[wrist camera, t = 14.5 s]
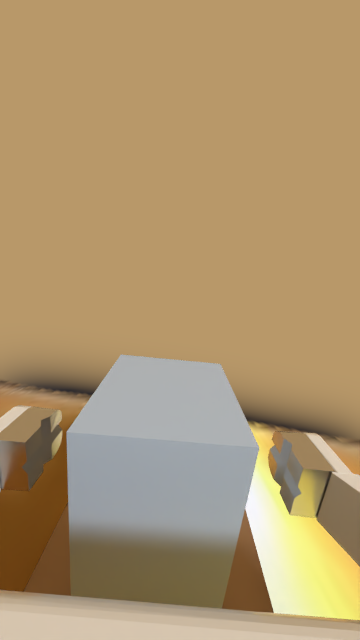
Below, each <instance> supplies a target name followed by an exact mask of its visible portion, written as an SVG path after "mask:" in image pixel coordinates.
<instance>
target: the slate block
mask: <svg viewBox="0 0 360 640" xmlns="http://www.w3.org/2000/svg"><path fill="white" fill-rule="evenodd" d="M258 451H259V446H258V444H257V442H256V440H255V438H254V436H253V433H252V431H251V429H250V427H249V425H248V423H247V420H246V418H245V416H244V414H243V412H242V410H241V407H240V405H239V403H238V401H237V399H236V397H235V395H234V392H233V390H232V388H231V386H230V384H229V382H228V380H227V377H226V375H225V373H224V371H223V369H222V367H221V364H214V363H203V362H192V361H182V360H171V359H161V358H150V357H140V356H129V355H120V357H119V358H118V360H117V361H116V363H115V364H114V365H113V367H112V368H111V370H110V371H109V373H108V374H107V375H106V377H105V378H104V380H103V381H102V382H101V384H100V385H99V387H98V388H97V390H96V391H95V392H94V394H93V395H92V397H91V398H90V399H89V401H88V402H87V404H86V405H85V407H84V408H83V409H82V411H81V412H80V414H79V415H78V416H77V418H76V419H75V421H74V422H73V424H72V425H71V426H70V428H69V429H68V431H67V470H68V508H69V546H70V584H71V596H79V597H91V598H103V599H115V600H126V601H138V602H150V603H162V604H174V605H186V606H197V607H209V608H221V609H222V605H223V601H224V597H225V592H226V588H227V584H228V580H229V575H230V571H231V567H232V562H233V558H234V554H235V549H236V545H237V541H238V537H239V532H240V528H241V524H242V519H243V515H244V511H245V506H246V502H247V498H248V494H249V489H250V485H251V481H252V476H253V472H254V468H255V463H256V459H257V455H258Z"/></svg>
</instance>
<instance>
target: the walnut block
mask: <svg viewBox="0 0 360 640" xmlns="http://www.w3.org/2000/svg"><path fill="white" fill-rule="evenodd" d="M23 592H32V593H43V594H55V595H67V596H71V584H70V546H69V508H68V503H67V505H66V507H65V509H64V511H63V513H62V515H61V517H60V519H59V521H58V523H57V525H56V527H55V529H54V531H53V533H52V535H51V537H50V539H49V541H48V543H47V545H46V547H45V549H44V551H43V553H42V555H41V557H40V559H39V561H38V563H37V565H36V567H35V569H34V571H33V573H32V575H31V577H30V579H29V581H28V583H27V585H26V587H25V589H24V591H23ZM222 609H232V610H244V611H255V612H267V613H274V612H273V608H272V605H271V601H270V598H269V594H268V590H267V587H266V583H265V579H264V576H263V572H262V568H261V565H260V561H259V558H258V554H257V550H256V547H255V543H254V539H253V536H252V532H251V528H250V525H249V521H248V518H247V514H246V510H245V511H244V515H243V519H242V524H241V528H240V532H239V537H238V541H237V545H236V549H235V554H234V558H233V562H232V567H231V571H230V575H229V580H228V584H227V588H226V592H225V597H224V601H223V605H222Z"/></svg>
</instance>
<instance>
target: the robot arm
mask: <svg viewBox="0 0 360 640" xmlns="http://www.w3.org/2000/svg"><path fill="white" fill-rule="evenodd" d="M61 420H62V414H61V411H60V410H57V409H48V408H40V407H30V406H21V405H19V406H15V407H14V408H12V409H11V410H10V411H8V412H7V413H6V414H4V415H3V416H2V417H1V418H0V492H1V490H16V491H29V490H30V489H31V488H32V486H33V485H34V483H35V482H36V481H37V479H38V478H39V476H40V475H41V474H42V472H43V464H45V463H46V462H48V461H50V460H51V459H52V458H53V457H54V455H55V454H56V452H57V451H58V448H59V446H60V444H61V440H62V429H61V428H60V426H59V425H58V424H59V422H60V421H61ZM272 440H273V442H274V444H275V445H274V446H273V447H272V448H271V449H270V451H269V456H268V460H269V468H270V471H271V474H272V476H273V479H274V480H275V481H276V482H277V483H278V484H279V485H280V486H281V490H280V494H281V496H282V499H283V501H284V503H285V505H286V507H287V510H288V512H289V514H290V515H294V516H302V517H310V518H317V521H318V522H319V523H320V524H321V525H322V526H323V527H324V528H325V530H326V531H327V532H328V533H329V534H330V535H331V536H332V537H333V538H334V539H335V540H336V541H337V542H338V544H339V545H340V546H341V547H342V548H343V549H344V550H345V551H346V552H347V553H348V554H349V555H350V556H351V558H352V559H353V560H354V561H355V562H356V563H357V564H358V565H359V566H360V476H359V475H357V474H353V473H352V472H351V471H350V470H349V469H348V468H347V467H346V465H345V464H344V463H343V462H342V461H341V460H340V458H339V457H338V456H337V455H336V454H335V453H334V452H333V450H332V449H331V448H330V447H329V446H328V445H327V444H326V442H325V441H324V440H323V439H322V438H321V437H320V436H319V435H317V434H315V433H297V432H285V431H275V432H274V434H273V438H272ZM0 640H360V620H348V619H337V618H325V617H313V616H302V615H290V614H278V613H267V612H255V611H244V610H232V609H221V608H209V607H197V606H186V605H174V604H162V603H150V602H138V601H126V600H115V599H103V598H91V597H79V596H67V595H55V594H43V593H32V592H20V591H8V590H0Z"/></svg>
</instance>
